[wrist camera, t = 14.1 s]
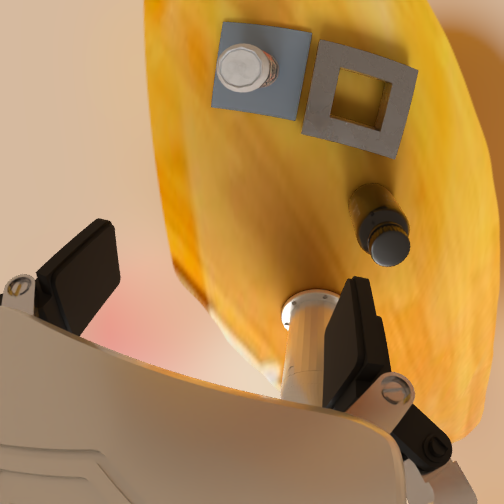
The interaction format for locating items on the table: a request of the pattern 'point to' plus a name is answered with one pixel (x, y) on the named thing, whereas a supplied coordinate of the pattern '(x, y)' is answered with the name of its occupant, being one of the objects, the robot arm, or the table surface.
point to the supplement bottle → (380, 224)
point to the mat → (289, 78)
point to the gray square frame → (391, 107)
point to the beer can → (246, 68)
